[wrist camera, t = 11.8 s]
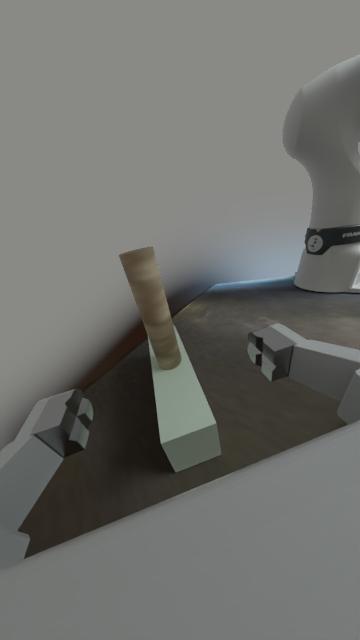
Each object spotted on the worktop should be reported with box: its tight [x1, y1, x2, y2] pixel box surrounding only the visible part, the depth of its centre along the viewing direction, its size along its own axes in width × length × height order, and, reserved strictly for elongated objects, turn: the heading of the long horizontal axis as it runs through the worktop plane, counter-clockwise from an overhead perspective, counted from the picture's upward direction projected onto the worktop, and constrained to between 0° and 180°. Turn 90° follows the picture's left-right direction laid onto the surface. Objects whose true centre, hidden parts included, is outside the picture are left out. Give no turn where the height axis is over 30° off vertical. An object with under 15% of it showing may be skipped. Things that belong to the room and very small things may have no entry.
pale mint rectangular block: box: [148, 325, 221, 472], centre depth 23 cm, size 5×18×6 cm, turn 14°
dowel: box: [119, 247, 182, 370], centre depth 19 cm, size 3×3×14 cm
